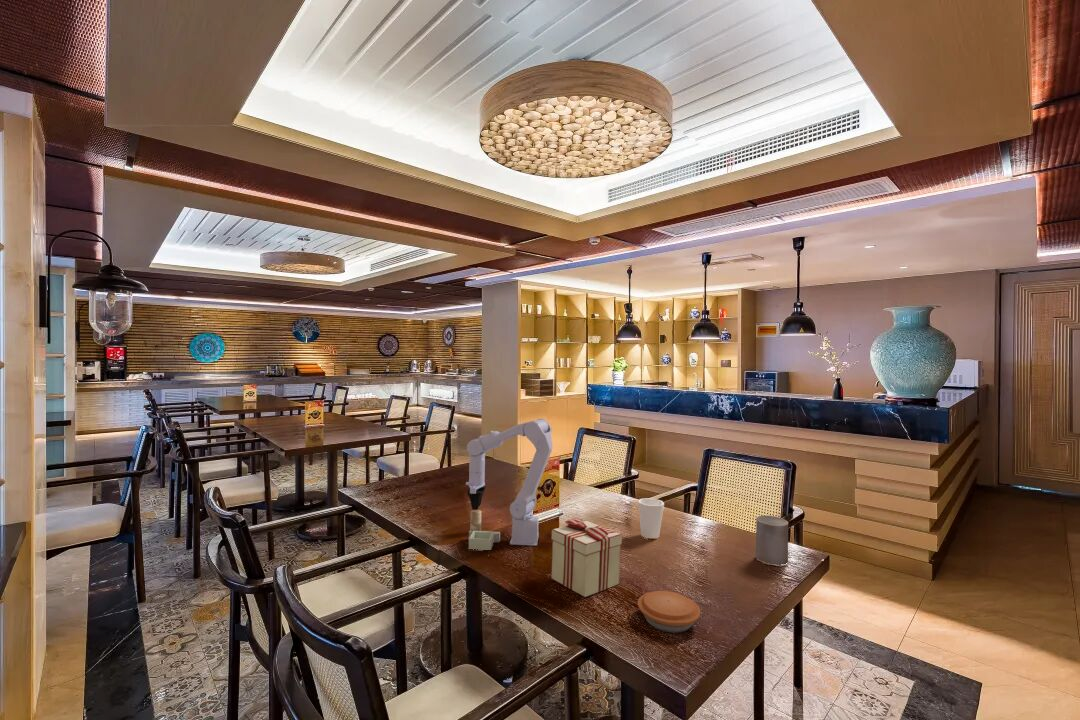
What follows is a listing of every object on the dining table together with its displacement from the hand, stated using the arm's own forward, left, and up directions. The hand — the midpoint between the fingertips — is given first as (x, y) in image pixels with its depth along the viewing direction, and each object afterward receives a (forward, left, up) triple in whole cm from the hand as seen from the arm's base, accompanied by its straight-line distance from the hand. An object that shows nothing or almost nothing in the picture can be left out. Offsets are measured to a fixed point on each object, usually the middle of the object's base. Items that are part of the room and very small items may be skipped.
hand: (476, 507), depth 179 cm
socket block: (-4, +12, -10) cm, 16 cm away
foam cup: (-65, -4, -10) cm, 66 cm away
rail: (-4, +7, -9) cm, 13 cm away
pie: (-60, +53, -10) cm, 81 cm away
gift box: (-40, +33, -10) cm, 53 cm away
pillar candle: (-102, +13, -10) cm, 103 cm away
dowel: (0, 0, -9) cm, 9 cm away
